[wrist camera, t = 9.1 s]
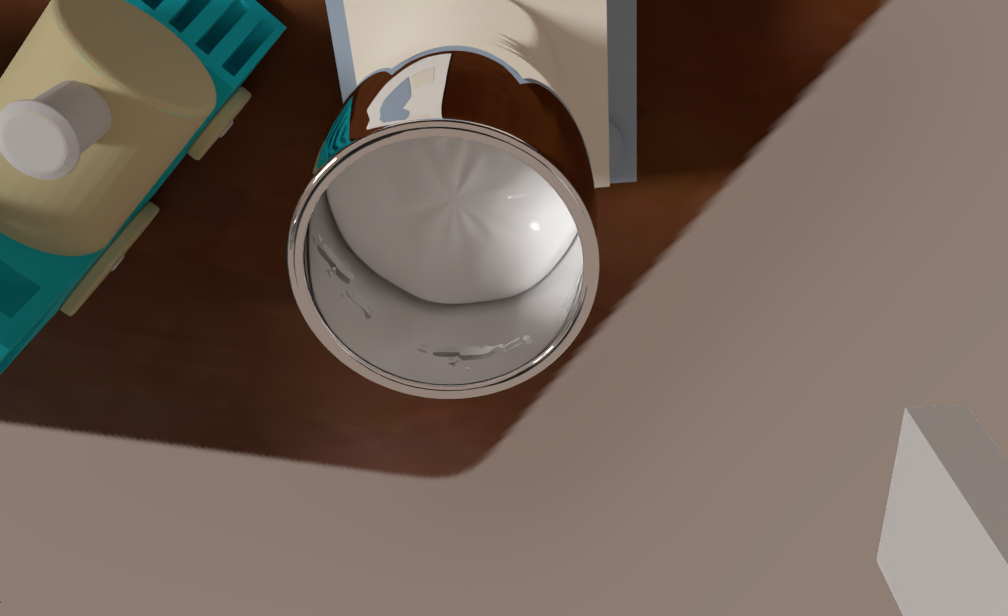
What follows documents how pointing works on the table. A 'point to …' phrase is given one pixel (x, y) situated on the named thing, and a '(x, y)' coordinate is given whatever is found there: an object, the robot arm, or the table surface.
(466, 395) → the beer glass
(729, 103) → the table surface
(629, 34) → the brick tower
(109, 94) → the toy train
